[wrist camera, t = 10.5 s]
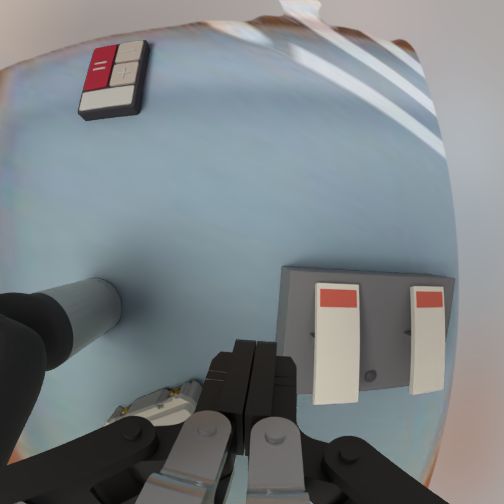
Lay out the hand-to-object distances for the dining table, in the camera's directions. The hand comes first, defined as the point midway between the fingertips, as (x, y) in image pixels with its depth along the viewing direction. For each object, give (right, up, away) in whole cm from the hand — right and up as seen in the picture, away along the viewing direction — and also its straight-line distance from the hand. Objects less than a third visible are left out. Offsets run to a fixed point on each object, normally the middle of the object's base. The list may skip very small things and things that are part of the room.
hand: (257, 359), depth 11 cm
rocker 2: (+26, -9, +28) cm, 39 cm away
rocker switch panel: (+18, -8, +39) cm, 44 cm away
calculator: (-25, +35, +36) cm, 56 cm away
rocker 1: (+11, -8, +27) cm, 31 cm away
